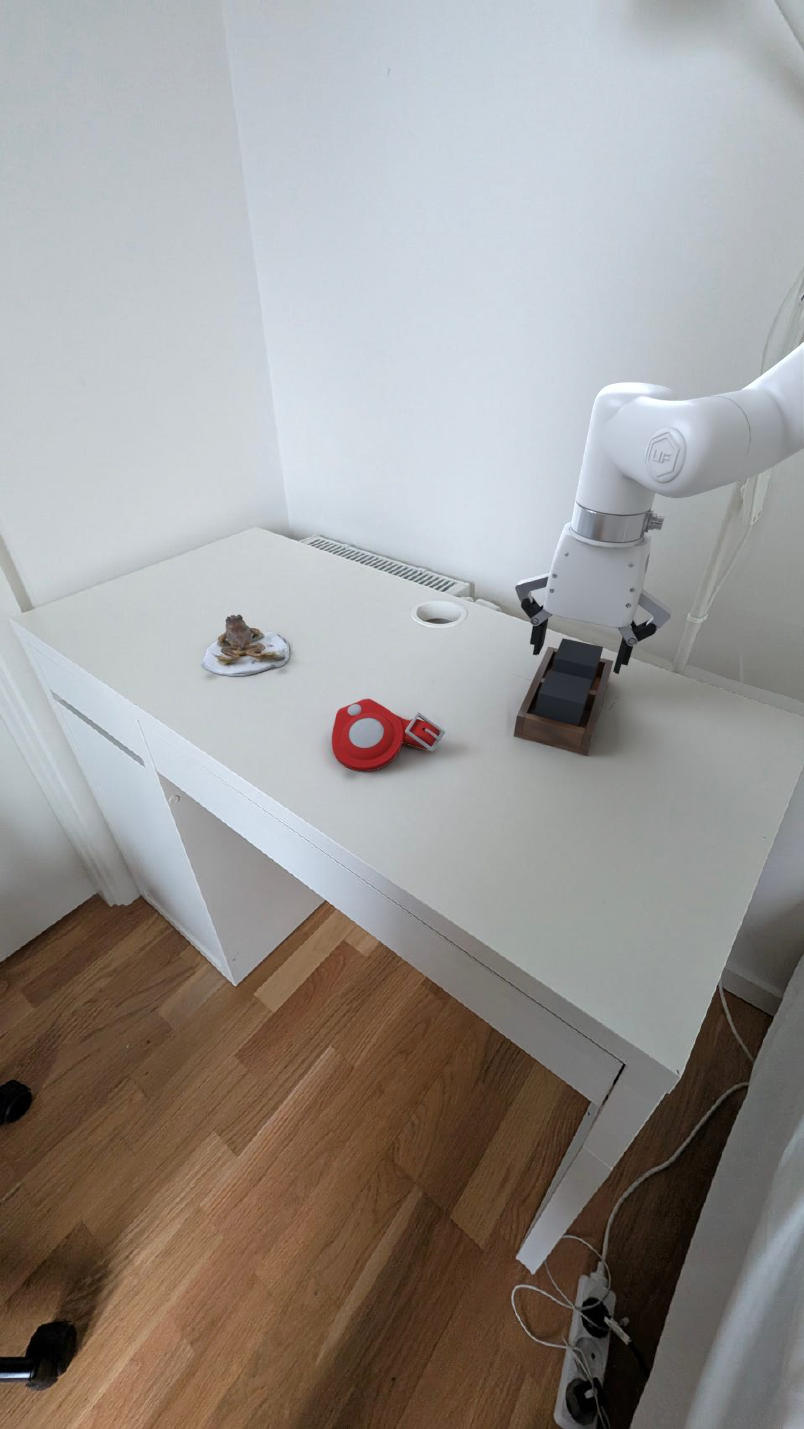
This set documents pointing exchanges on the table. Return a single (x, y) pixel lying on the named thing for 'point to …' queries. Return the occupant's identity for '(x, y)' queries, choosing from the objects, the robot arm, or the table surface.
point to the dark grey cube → (563, 698)
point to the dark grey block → (577, 659)
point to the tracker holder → (378, 735)
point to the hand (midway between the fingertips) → (576, 658)
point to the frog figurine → (245, 650)
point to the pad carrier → (554, 730)
